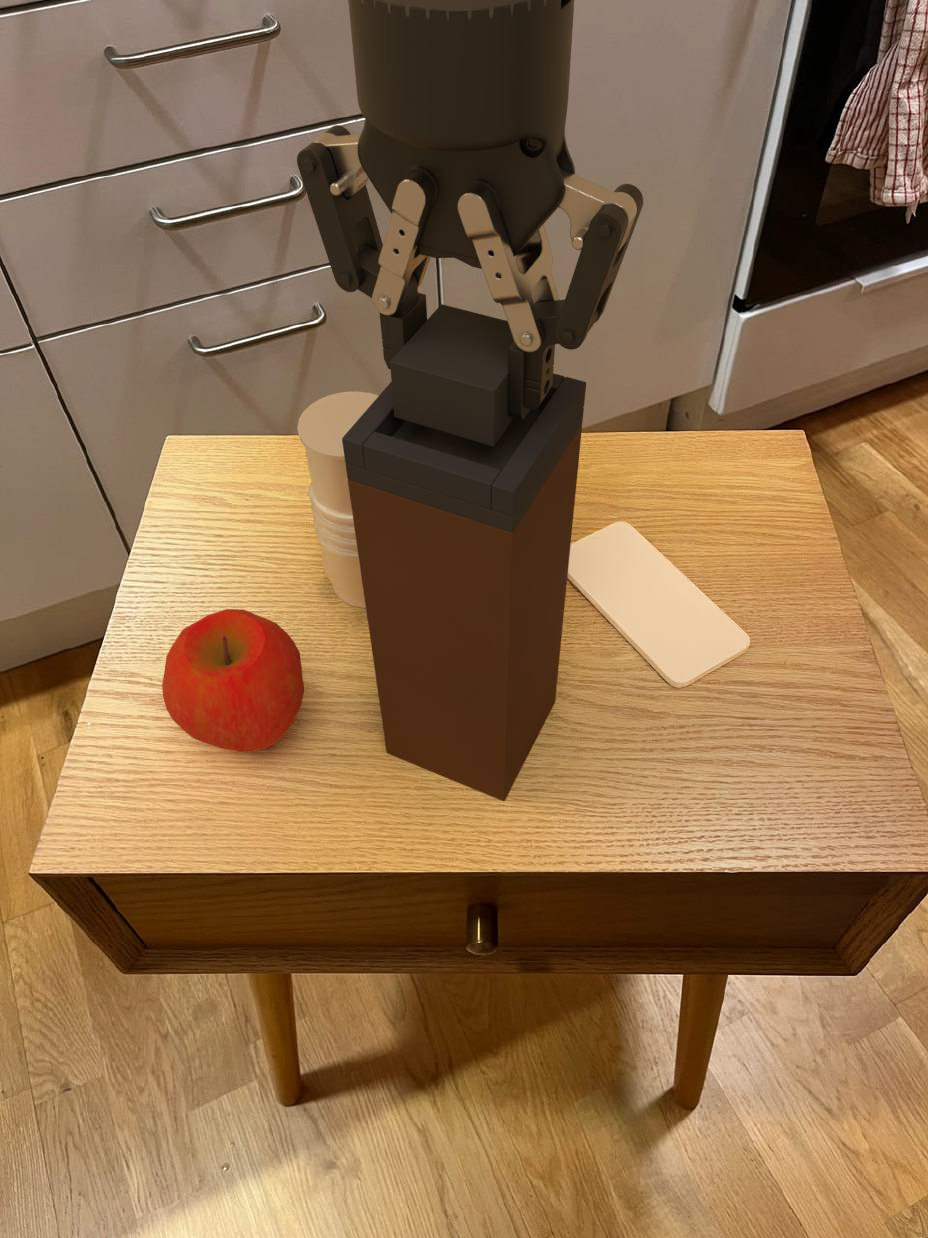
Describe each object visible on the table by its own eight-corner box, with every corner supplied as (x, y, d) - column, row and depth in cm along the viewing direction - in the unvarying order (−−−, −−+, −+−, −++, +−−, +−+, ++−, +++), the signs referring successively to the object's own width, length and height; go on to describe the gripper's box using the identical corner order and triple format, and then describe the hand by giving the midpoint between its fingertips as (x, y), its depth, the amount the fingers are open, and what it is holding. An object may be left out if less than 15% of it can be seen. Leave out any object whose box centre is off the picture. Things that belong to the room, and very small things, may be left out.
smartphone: (677, 687, 66) (549, 554, 74) (675, 693, 67) (549, 560, 75) (756, 641, 68) (624, 517, 77) (754, 648, 69) (623, 524, 77)
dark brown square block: (538, 384, 45) (541, 328, 43) (493, 447, 42) (494, 390, 40) (443, 358, 47) (441, 303, 44) (393, 417, 44) (389, 361, 41)
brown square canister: (555, 702, 66) (587, 381, 46) (504, 802, 61) (514, 491, 41) (443, 660, 69) (427, 338, 49) (386, 753, 64) (341, 438, 44)
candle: (395, 536, 77) (380, 379, 65) (428, 595, 73) (417, 439, 61) (313, 562, 75) (283, 405, 64) (342, 624, 71) (314, 469, 60)
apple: (180, 795, 62) (133, 697, 54) (199, 688, 67) (159, 585, 59) (313, 789, 62) (287, 691, 54) (321, 683, 68) (298, 579, 59)
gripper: (210, -36, 31) (290, 397, 44) (633, 28, 27) (584, 486, 40) (329, -97, 35) (371, 314, 48) (709, -50, 31) (643, 386, 44)
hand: (467, 390), depth 44 cm, fingers closed on dark brown square block, 5 cm apart
